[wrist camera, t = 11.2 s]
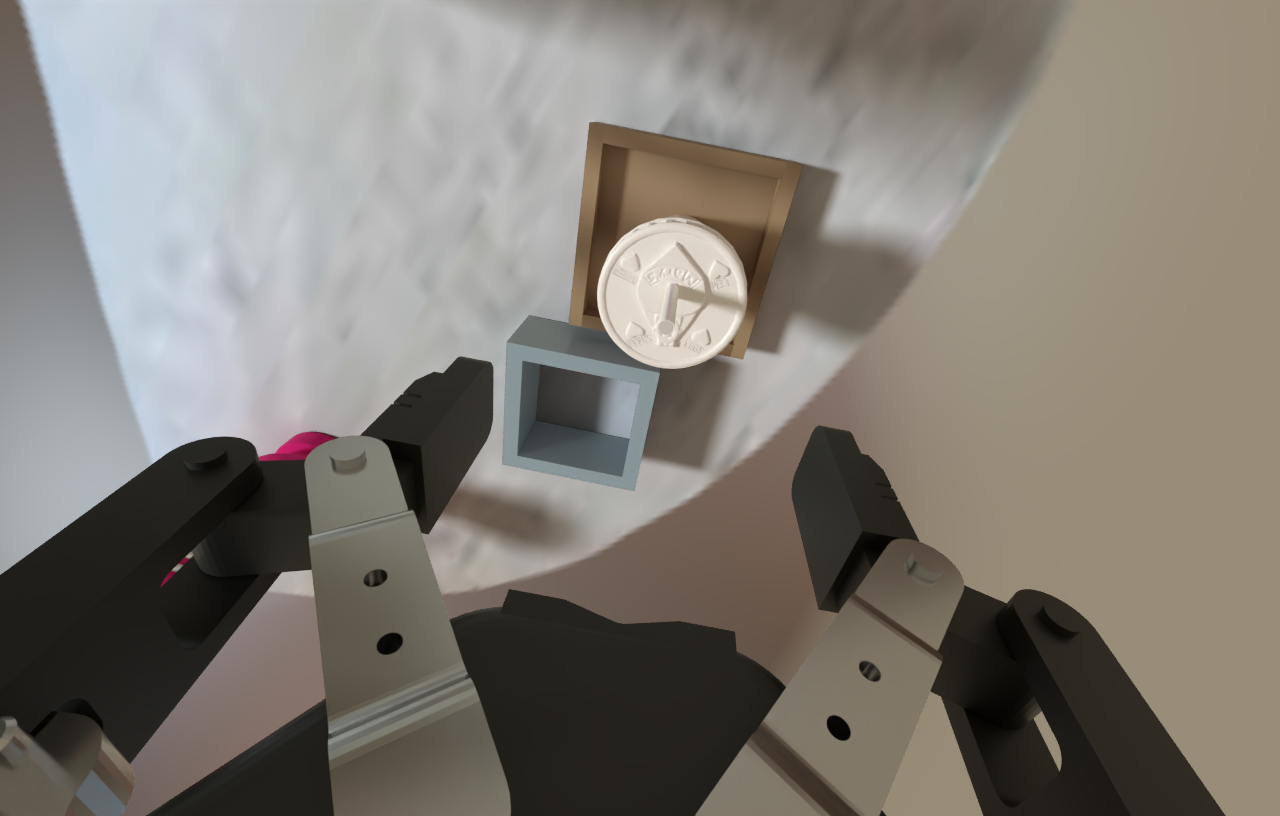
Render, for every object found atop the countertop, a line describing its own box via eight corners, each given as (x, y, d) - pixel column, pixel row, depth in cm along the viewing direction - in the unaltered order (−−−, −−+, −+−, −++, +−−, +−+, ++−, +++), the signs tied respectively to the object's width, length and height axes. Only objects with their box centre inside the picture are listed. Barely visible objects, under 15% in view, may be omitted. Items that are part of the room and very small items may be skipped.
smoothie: (743, 193, 27) (777, 256, 15) (726, 306, 31) (742, 430, 19) (627, 184, 28) (571, 238, 16) (622, 296, 31) (573, 412, 19)
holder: (528, 315, 33) (506, 342, 30) (664, 342, 33) (659, 373, 30) (522, 428, 38) (502, 464, 34) (641, 452, 38) (634, 491, 34)
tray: (597, 121, 27) (589, 122, 25) (795, 161, 27) (802, 165, 25) (576, 312, 33) (568, 324, 31) (740, 345, 33) (743, 359, 31)
